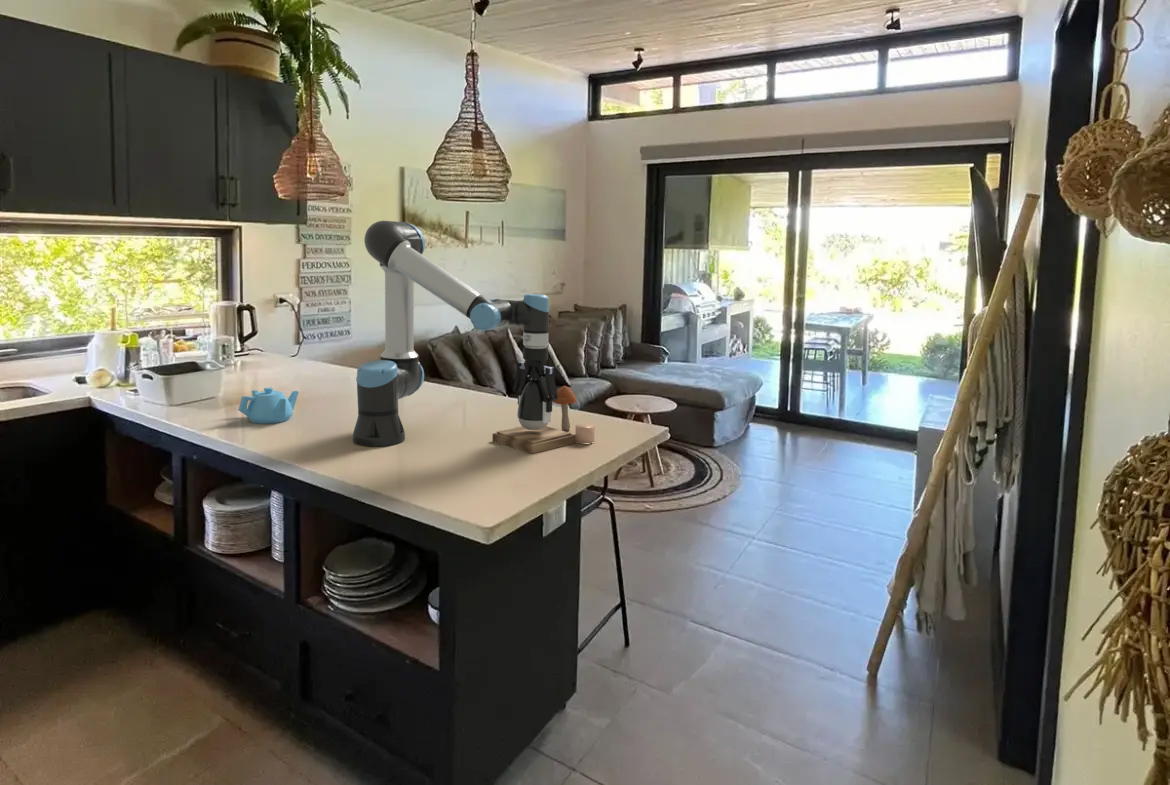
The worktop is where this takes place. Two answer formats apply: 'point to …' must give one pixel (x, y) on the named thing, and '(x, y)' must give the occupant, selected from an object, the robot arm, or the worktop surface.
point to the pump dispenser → (531, 406)
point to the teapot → (268, 406)
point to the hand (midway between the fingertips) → (534, 419)
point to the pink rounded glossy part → (585, 433)
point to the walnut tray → (534, 438)
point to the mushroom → (565, 405)
